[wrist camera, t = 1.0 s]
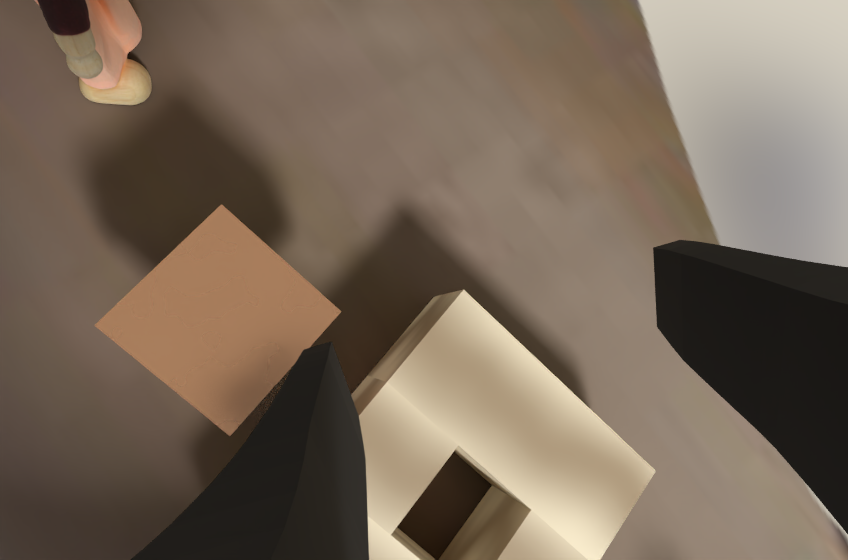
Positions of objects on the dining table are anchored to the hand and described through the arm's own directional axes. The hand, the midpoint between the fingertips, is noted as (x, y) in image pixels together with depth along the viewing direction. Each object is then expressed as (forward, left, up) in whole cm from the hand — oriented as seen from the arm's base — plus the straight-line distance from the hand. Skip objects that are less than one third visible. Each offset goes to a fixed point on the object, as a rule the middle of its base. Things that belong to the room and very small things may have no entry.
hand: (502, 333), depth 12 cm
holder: (-4, -7, -14) cm, 16 cm away
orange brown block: (-4, +5, -14) cm, 16 cm away
